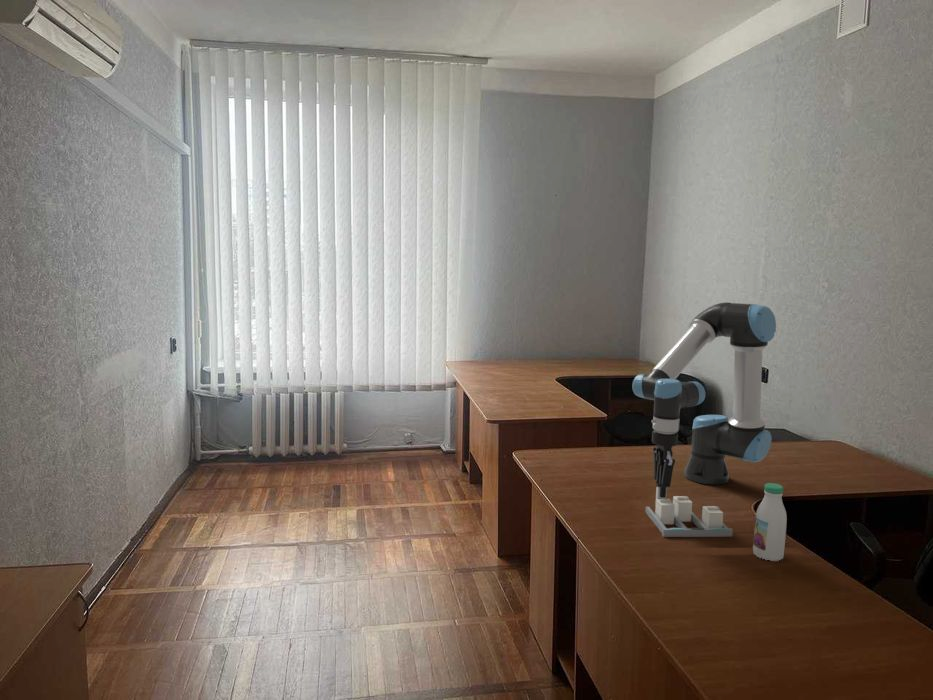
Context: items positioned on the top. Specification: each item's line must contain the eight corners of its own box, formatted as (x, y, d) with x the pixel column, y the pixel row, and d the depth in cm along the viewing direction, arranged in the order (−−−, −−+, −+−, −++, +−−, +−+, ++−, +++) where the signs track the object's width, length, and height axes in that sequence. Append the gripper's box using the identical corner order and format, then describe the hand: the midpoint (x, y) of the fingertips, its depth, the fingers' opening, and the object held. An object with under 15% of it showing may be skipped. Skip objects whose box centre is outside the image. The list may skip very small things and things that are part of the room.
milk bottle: (781, 551, 184) (788, 482, 181) (785, 564, 177) (791, 492, 174) (751, 547, 187) (757, 479, 184) (753, 559, 180) (759, 488, 177)
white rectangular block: (714, 525, 198) (716, 503, 197) (721, 532, 193) (723, 510, 192) (701, 525, 198) (702, 504, 197) (708, 532, 193) (709, 510, 192)
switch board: (706, 516, 208) (707, 504, 208) (731, 541, 191) (732, 528, 190) (643, 516, 208) (644, 505, 207) (662, 541, 190) (663, 529, 189)
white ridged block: (684, 514, 205) (686, 494, 204) (690, 521, 200) (692, 500, 199) (672, 514, 205) (673, 494, 204) (677, 521, 200) (679, 500, 199)
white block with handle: (667, 517, 203) (669, 496, 202) (673, 524, 198) (674, 502, 197) (654, 517, 203) (656, 496, 202) (660, 524, 198) (661, 502, 197)
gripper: (646, 425, 206) (642, 498, 210) (659, 436, 193) (655, 514, 197) (670, 425, 206) (665, 498, 210) (685, 437, 193) (680, 514, 197)
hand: (660, 505), depth 203 cm, fingers closed
